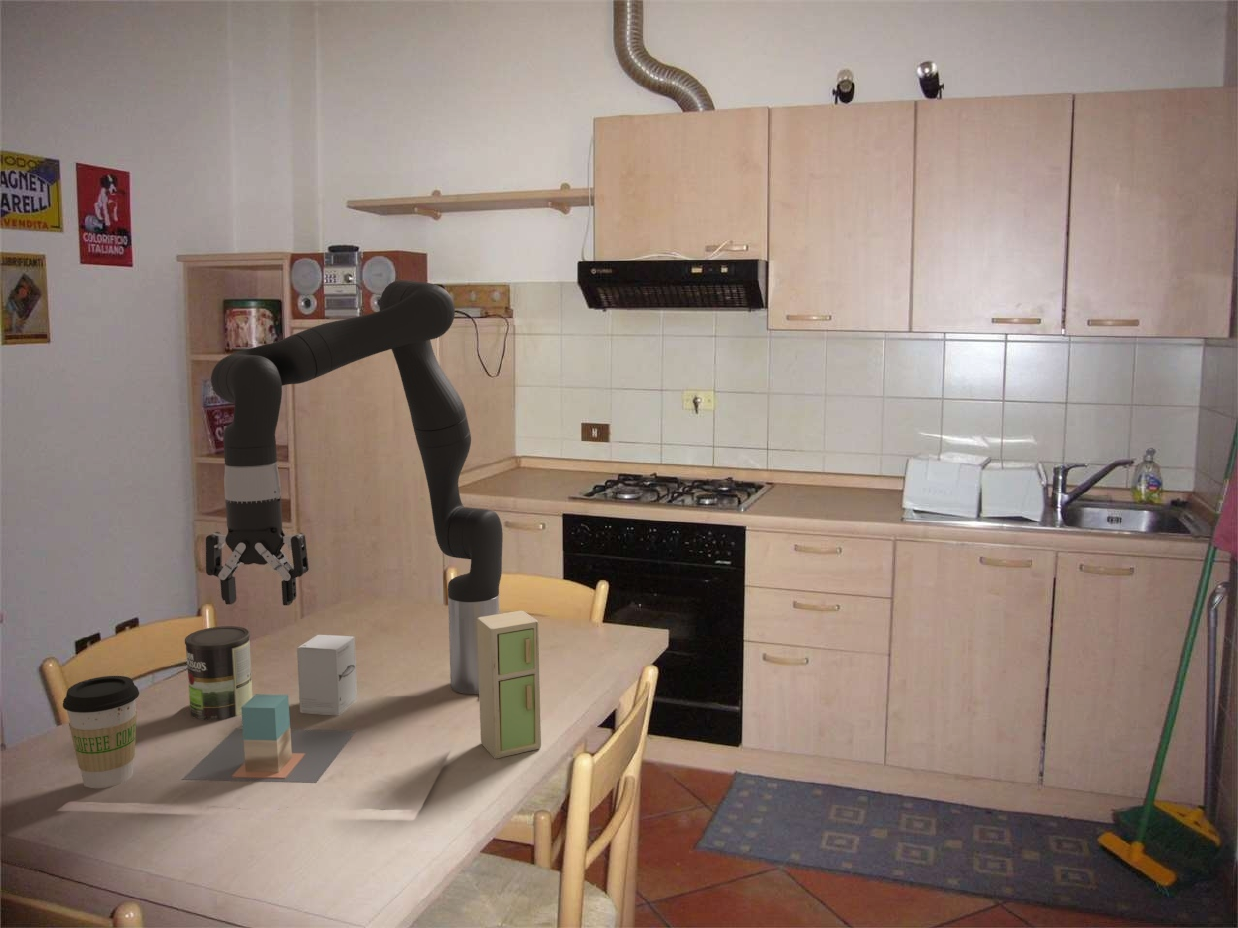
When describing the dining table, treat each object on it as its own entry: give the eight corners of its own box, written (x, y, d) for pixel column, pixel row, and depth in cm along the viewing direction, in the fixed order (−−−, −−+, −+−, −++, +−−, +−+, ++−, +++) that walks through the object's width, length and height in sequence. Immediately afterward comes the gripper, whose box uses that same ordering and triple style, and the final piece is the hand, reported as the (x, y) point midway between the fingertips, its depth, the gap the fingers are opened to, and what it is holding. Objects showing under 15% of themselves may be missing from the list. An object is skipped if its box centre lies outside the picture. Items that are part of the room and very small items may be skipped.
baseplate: (356, 736, 160) (356, 729, 160) (316, 788, 143) (316, 781, 142) (236, 733, 162) (235, 727, 161) (182, 785, 144) (181, 778, 144)
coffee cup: (95, 806, 138) (86, 704, 135) (56, 789, 143) (47, 690, 141) (160, 778, 146) (152, 682, 144) (121, 763, 151) (113, 669, 149)
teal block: (290, 726, 150) (288, 694, 149) (276, 740, 145) (274, 707, 144) (257, 725, 150) (255, 694, 149) (243, 739, 145) (241, 707, 144)
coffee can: (207, 731, 163) (201, 649, 160) (179, 714, 170) (173, 635, 167) (265, 713, 170) (261, 634, 168) (237, 697, 177) (232, 621, 175)
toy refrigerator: (495, 761, 151) (492, 629, 148) (479, 743, 158) (476, 616, 154) (543, 751, 155) (541, 621, 152) (525, 733, 161) (523, 609, 158)
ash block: (278, 772, 145) (276, 740, 145) (245, 771, 146) (243, 739, 145) (292, 757, 150) (290, 726, 150) (260, 756, 151) (258, 725, 150)
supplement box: (339, 721, 166) (335, 649, 165) (298, 718, 168) (294, 646, 166) (359, 704, 174) (355, 635, 172) (320, 701, 175) (316, 633, 173)
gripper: (192, 499, 138) (199, 610, 141) (291, 499, 138) (297, 611, 140) (216, 489, 146) (223, 595, 148) (311, 490, 145) (316, 597, 148)
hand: (259, 603), depth 144 cm, fingers open, 8 cm apart
